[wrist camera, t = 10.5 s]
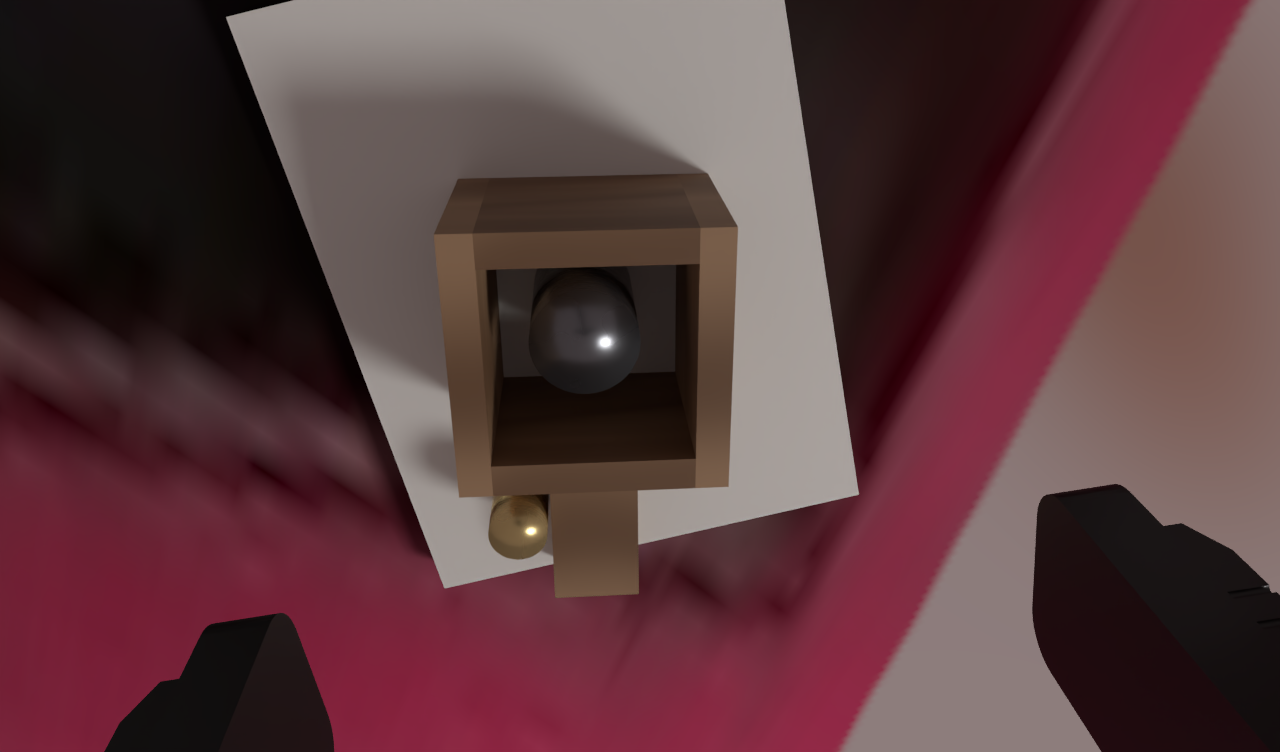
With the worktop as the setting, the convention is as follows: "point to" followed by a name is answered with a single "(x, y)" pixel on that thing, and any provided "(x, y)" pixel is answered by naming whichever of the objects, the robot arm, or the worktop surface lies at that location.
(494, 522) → the dowel
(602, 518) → the open wooden box
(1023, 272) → the worktop surface
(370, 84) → the board
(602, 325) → the post
